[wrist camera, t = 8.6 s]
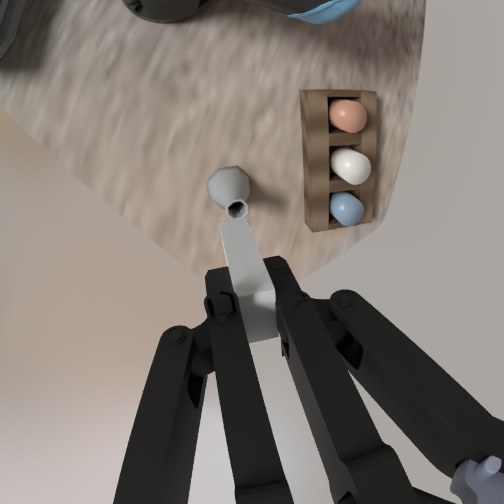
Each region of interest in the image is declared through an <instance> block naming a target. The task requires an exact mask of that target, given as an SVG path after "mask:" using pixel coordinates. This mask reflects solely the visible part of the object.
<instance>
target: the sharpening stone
mask: <svg viewBox="0 0 504 504" xmlns="http://www.w3.org/2000/svg"><path fill="white" fill-rule="evenodd" d="M26 2H27V0H0V59H1V58H2V56H3V55H4V54H5V52H6V51H7V50H8V48H9V47H10V46H11V44H12V43H13V42H14V41H15V38H16V34H17V30H18V27H19V23H20V20H21V17H22V14H23V11H24V8H25V5H26Z"/></svg>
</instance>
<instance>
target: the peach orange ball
mask: <svg viewBox="0 0 504 504" xmlns="http://www.w3.org/2000/svg"><path fill="white" fill-rule="evenodd" d="M366 121H367V113H366V110H365V108H364V107H363V106H362V105H361V104H360V103H358V102H355V101H350V100H344V99H333V100H331V101H330V102H329V103H328V123H329V124H330V125H331V126H333V127H336V128H338V129H341V130H344V131H347V132H350V133H356V132H359V131H360V130H362V129H363V127H364V126H365V124H366Z"/></svg>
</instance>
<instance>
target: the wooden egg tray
mask: <svg viewBox="0 0 504 504" xmlns="http://www.w3.org/2000/svg"><path fill="white" fill-rule="evenodd" d="M299 92H300V106H301V123H302V142H303V165H304V199H305V223H306V225H307V226H308V227H309V229H310V230H311V231H312V232H318V231H324V230H330V229H336V228H342V227H347V226H344V225H342V224H341V223H340V222H339V221H338V220H337V219H336V218H335V217H334V216H333V215H332V214H329V193H331V192H339V191H347V190H349V193H350V194H352V195H353V196H354V197H355V198H357V199H358V200H359V201H360V202H361V203H362V204H363V207H364V213H363V216H362V218H361V219H360V221H359V222H358V223H356V224H355V225H359V224H365V223H371V221H372V211H373V199H374V185H375V167H376V138H377V99H376V92H373V91H365V90H299ZM327 97H349V100H350V101H355V102H358V103H360V104H361V105H362V106H363V107H364V108H365V110H366V113H367V121H366V124H365V126H364V127H363V129H362V130H360V131H359V132H356V133H350V132H347V131H344V130H341V129H329V128H328V102H327ZM338 145H350V149H352V150H354V151H356V152H358V153H361V154H363V155H365V156H366V157H367V158H368V159H369V161H370V164H371V171H370V175H369V177H368V178H367V179H366V180H365V181H364V182H363V183H361V184H358V185H353V184H350V183H348V182H347V181H346V180H344V179H343V178H341V177H340V176H338V175H337V174H335V173H329V146H338ZM352 226H353V225H352Z"/></svg>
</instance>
